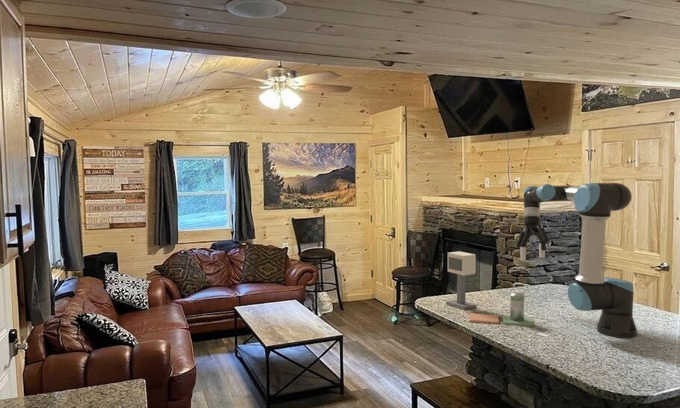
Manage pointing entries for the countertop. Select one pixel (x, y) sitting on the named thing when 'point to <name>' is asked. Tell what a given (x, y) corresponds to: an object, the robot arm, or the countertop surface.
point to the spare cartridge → (517, 306)
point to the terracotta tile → (484, 318)
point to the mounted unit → (461, 276)
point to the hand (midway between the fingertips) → (532, 258)
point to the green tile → (508, 321)
